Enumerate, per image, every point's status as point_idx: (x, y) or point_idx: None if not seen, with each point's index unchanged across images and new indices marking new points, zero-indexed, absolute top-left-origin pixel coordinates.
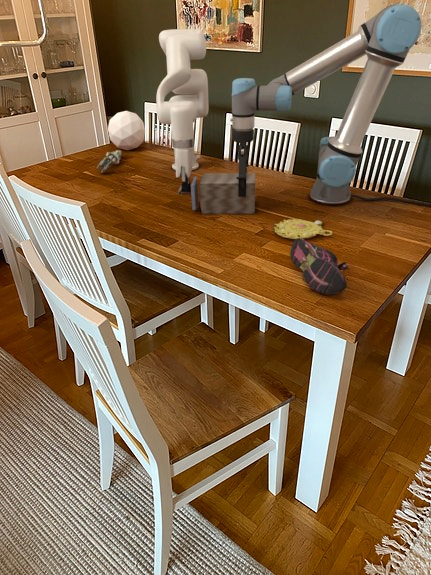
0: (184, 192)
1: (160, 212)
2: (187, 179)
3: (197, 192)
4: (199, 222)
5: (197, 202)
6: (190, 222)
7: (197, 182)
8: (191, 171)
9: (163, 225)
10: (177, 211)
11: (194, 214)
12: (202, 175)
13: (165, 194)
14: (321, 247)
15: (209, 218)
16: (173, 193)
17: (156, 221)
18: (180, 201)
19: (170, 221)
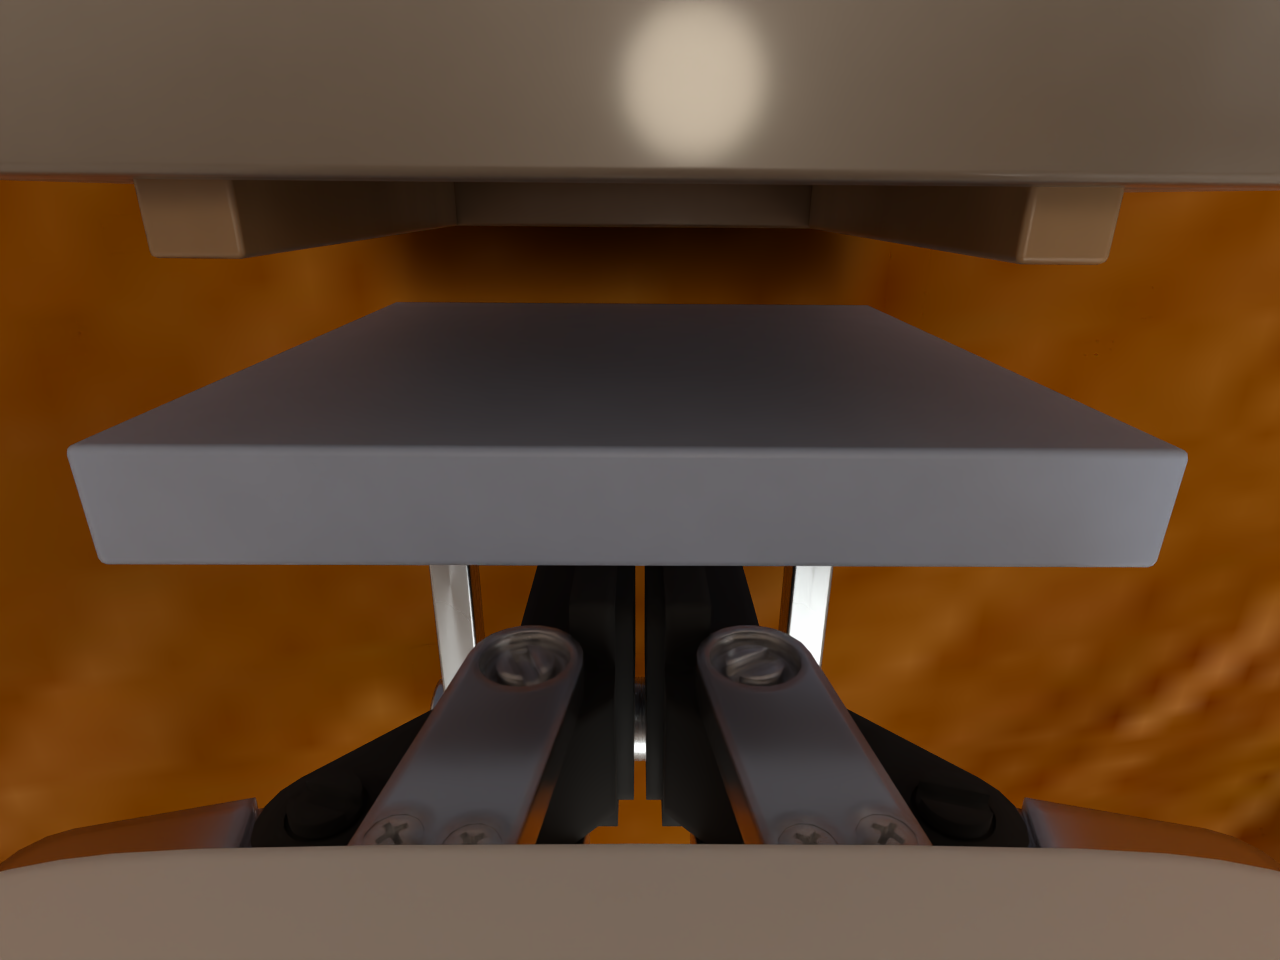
0: (824, 628)
1: None
2: (932, 806)
3: (453, 335)
4: (1263, 192)
5: (569, 306)
6: (1220, 341)
7: (242, 386)
8: (307, 880)
9: (1215, 673)
10: (776, 574)
11: (918, 313)
12: (137, 173)
13: (167, 798)
14: None
15: None
16: (100, 713)
17: (1070, 762)
18: (394, 584)
19: (1110, 613)
